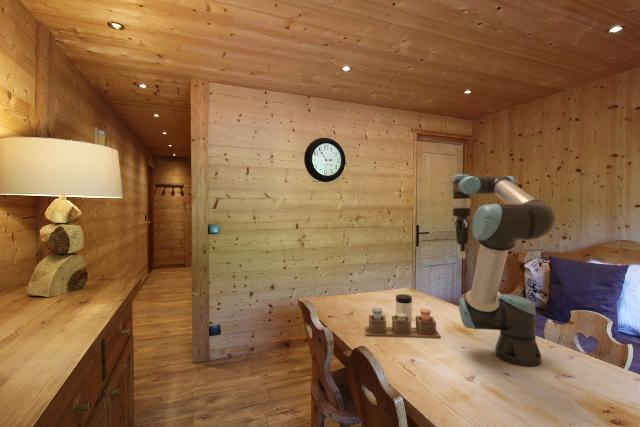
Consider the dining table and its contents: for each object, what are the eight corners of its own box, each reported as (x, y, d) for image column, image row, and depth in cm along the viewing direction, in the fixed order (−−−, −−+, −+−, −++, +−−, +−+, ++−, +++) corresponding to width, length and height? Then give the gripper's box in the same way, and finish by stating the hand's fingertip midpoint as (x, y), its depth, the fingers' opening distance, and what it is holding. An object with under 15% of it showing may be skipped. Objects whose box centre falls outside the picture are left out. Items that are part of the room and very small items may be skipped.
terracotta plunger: (431, 326, 145) (431, 312, 144) (421, 326, 145) (421, 311, 145) (429, 323, 149) (429, 308, 149) (419, 323, 150) (419, 308, 150)
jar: (415, 319, 166) (415, 296, 166) (406, 323, 161) (406, 299, 161) (401, 315, 173) (401, 293, 173) (392, 318, 168) (392, 295, 168)
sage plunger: (407, 331, 146) (407, 316, 146) (396, 330, 146) (396, 316, 146) (405, 327, 150) (405, 312, 150) (395, 327, 151) (395, 312, 151)
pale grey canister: (382, 325, 147) (382, 311, 147) (372, 325, 148) (372, 310, 147) (381, 322, 152) (381, 307, 151) (372, 321, 152) (372, 307, 152)
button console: (440, 338, 142) (440, 323, 141) (366, 336, 145) (365, 321, 145) (435, 329, 152) (435, 315, 151) (365, 327, 155) (365, 314, 155)
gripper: (475, 207, 142) (475, 260, 143) (465, 207, 155) (465, 255, 156) (457, 207, 143) (458, 260, 144) (449, 207, 156) (449, 255, 157)
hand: (462, 257), depth 150 cm, fingers closed
